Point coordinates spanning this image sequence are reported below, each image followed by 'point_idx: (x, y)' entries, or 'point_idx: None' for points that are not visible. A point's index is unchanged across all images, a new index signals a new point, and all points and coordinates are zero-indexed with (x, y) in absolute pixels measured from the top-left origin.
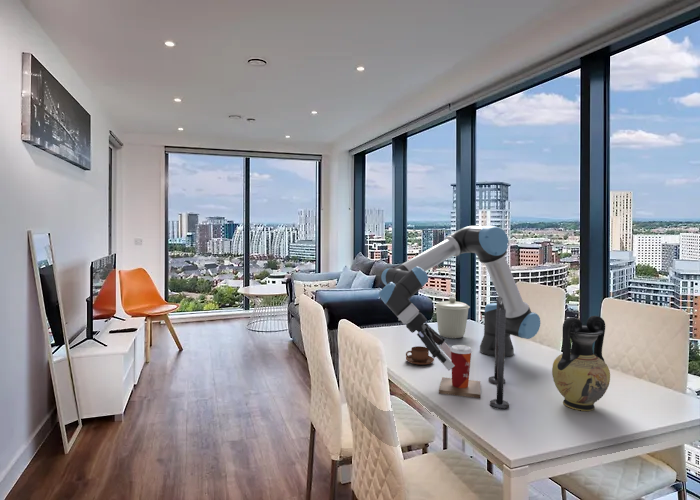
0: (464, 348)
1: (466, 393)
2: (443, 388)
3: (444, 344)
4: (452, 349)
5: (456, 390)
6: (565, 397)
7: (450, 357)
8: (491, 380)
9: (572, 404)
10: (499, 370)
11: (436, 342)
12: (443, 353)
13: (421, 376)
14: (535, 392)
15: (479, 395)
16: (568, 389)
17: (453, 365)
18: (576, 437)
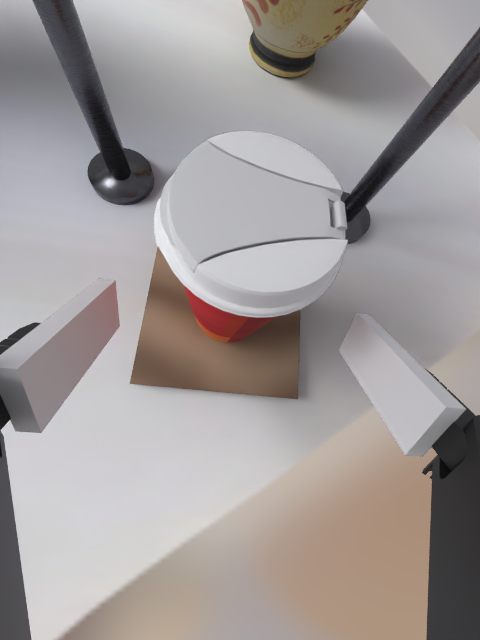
0: (294, 183)
1: None
2: (275, 380)
3: (38, 367)
4: (306, 293)
5: (284, 330)
6: (310, 50)
7: (113, 327)
8: (139, 193)
9: (309, 59)
10: (448, 114)
11: (7, 488)
12: (435, 387)
13: (84, 491)
14: (209, 105)
15: None
16: (359, 10)
17: (370, 320)
18: (446, 123)
